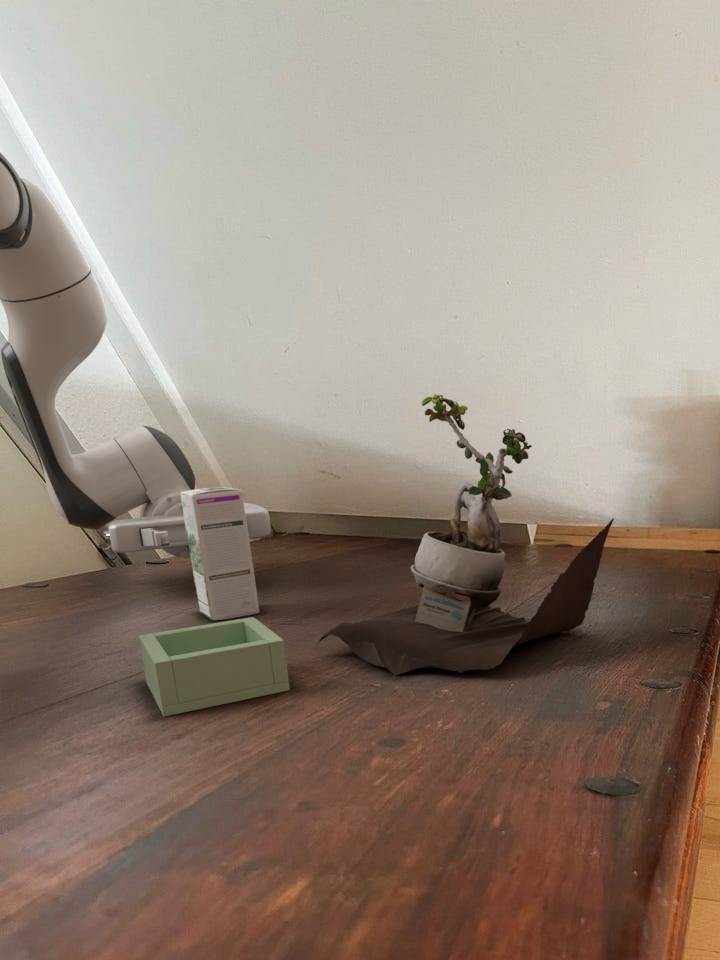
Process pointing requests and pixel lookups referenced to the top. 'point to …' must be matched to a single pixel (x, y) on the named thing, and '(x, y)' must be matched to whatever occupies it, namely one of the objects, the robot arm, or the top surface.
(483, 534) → the potted plant
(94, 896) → the top surface
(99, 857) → the top surface
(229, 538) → the syrup box
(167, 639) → the socket
